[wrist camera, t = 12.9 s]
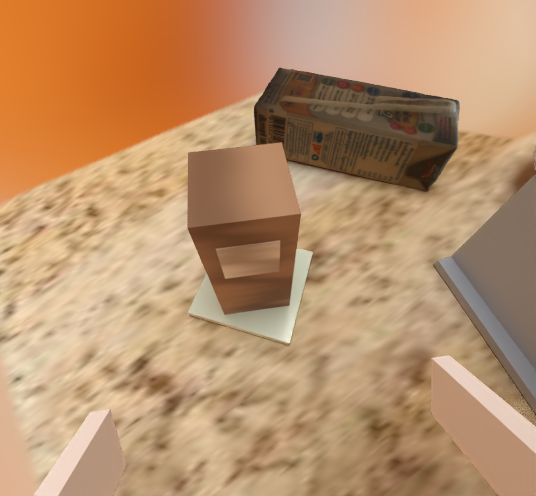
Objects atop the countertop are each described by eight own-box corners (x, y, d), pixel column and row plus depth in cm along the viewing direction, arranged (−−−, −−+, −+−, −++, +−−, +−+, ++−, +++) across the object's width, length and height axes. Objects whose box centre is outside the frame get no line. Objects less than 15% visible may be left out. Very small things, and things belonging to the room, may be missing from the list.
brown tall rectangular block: (278, 250, 25) (281, 142, 15) (289, 306, 22) (301, 214, 13) (220, 258, 24) (188, 152, 15) (224, 315, 22) (187, 229, 12)
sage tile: (312, 255, 25) (312, 251, 24) (289, 345, 21) (289, 343, 20) (226, 234, 26) (226, 231, 26) (189, 315, 22) (187, 312, 22)
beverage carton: (429, 197, 29) (466, 141, 23) (252, 157, 33) (248, 100, 27) (433, 148, 33) (466, 90, 27) (275, 117, 37) (275, 61, 31)
